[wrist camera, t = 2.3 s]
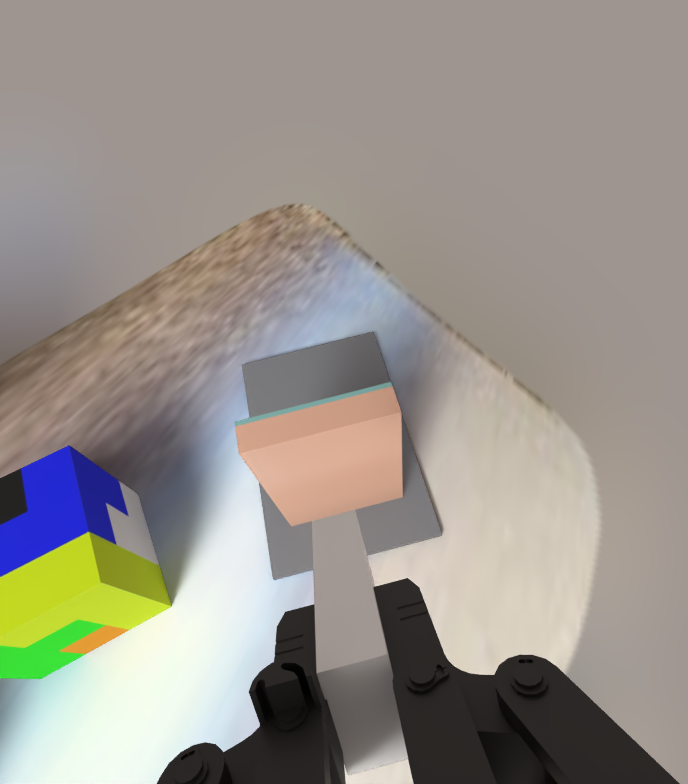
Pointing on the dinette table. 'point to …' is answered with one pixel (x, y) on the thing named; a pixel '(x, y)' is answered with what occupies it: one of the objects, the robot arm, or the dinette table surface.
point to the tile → (327, 453)
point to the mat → (320, 381)
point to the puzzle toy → (70, 564)
